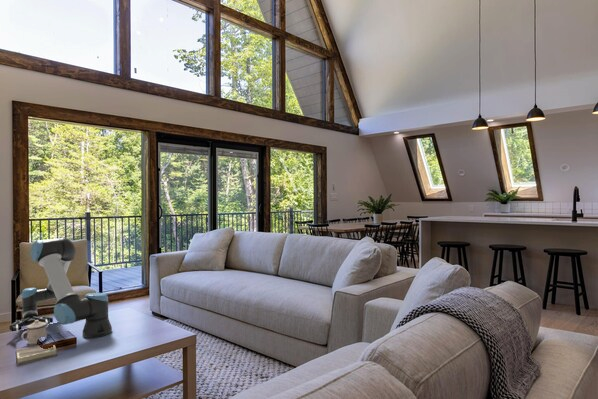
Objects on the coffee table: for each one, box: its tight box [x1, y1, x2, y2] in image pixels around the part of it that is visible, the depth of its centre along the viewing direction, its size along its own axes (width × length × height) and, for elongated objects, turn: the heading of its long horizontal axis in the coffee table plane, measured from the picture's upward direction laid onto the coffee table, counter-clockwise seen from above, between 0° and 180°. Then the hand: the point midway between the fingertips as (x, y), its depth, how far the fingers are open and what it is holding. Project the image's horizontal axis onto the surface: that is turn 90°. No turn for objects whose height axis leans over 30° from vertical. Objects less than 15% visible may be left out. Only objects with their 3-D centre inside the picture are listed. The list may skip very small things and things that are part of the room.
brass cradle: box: [16, 344, 58, 363], centre depth 187 cm, size 8×16×2 cm, turn 128°
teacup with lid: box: [20, 320, 47, 345], centre depth 207 cm, size 12×9×12 cm
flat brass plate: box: [15, 344, 58, 366], centre depth 192 cm, size 20×16×1 cm
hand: (32, 327), depth 210 cm, fingers open, 13 cm apart
